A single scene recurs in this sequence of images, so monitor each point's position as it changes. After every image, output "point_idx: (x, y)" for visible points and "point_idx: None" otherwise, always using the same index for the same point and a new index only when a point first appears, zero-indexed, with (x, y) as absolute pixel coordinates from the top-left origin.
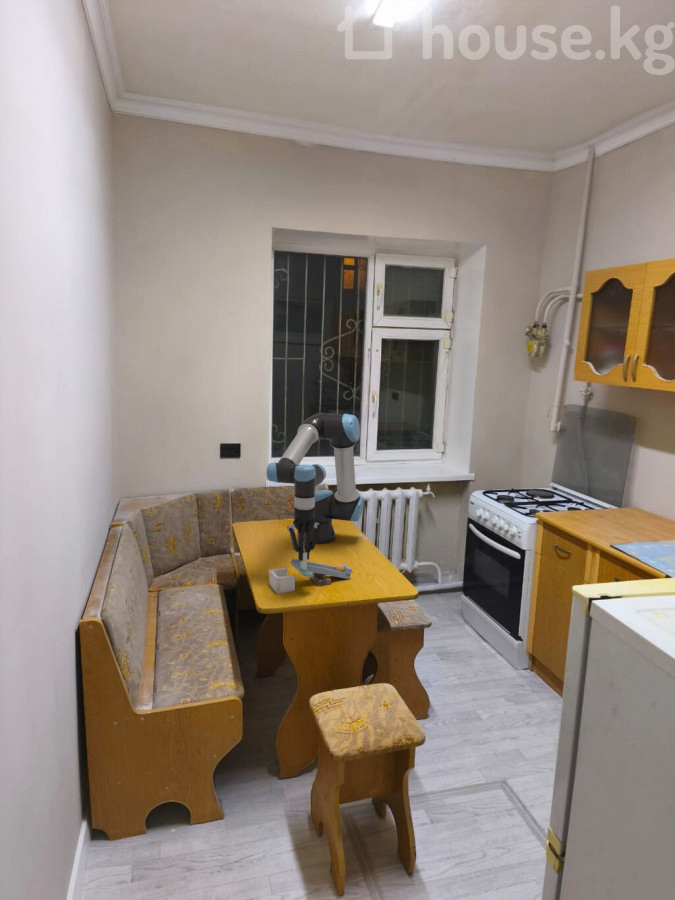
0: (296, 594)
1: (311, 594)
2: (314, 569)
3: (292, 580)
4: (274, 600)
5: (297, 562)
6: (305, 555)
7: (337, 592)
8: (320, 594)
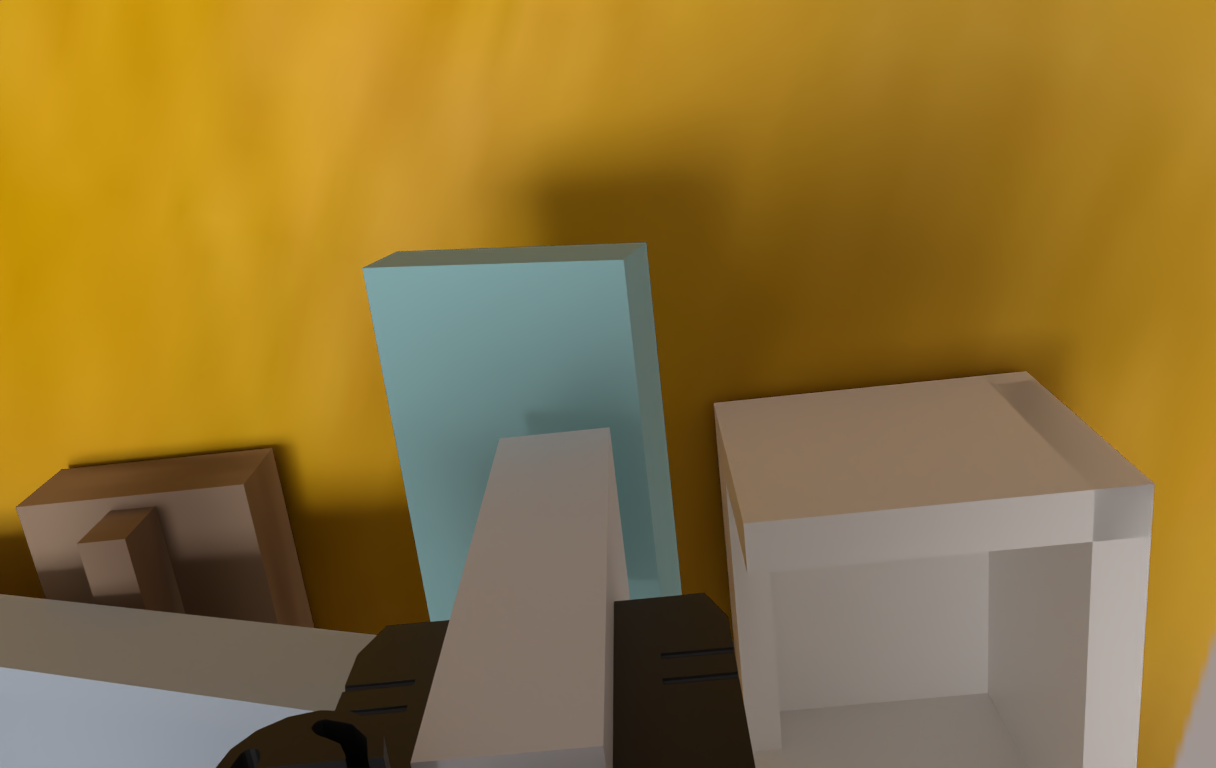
0: (721, 280)
1: (474, 205)
2: (258, 661)
3: (783, 478)
4: (1154, 160)
5: None
6: (509, 670)
7: (5, 150)
8: (321, 159)
